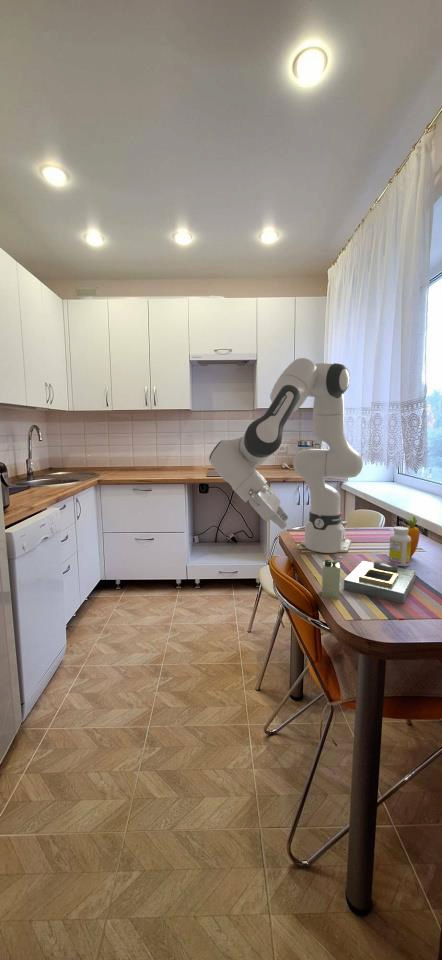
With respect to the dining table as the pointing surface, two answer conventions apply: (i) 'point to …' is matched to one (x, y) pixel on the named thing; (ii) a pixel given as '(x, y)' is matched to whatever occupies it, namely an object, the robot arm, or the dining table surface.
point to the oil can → (331, 579)
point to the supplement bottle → (400, 546)
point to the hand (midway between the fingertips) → (285, 523)
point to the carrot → (413, 535)
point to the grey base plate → (381, 580)
